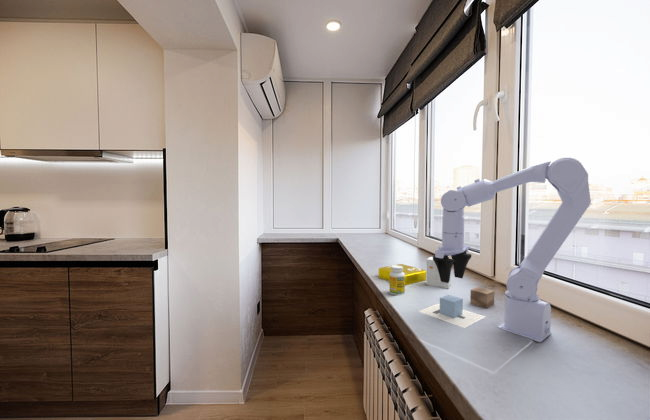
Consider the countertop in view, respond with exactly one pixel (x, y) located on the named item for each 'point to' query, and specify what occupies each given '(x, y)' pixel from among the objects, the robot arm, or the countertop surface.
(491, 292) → the walnut block
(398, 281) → the supplement bottle
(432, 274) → the small box
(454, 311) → the dusty blue cube
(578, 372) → the countertop surface
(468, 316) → the letter card
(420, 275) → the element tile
